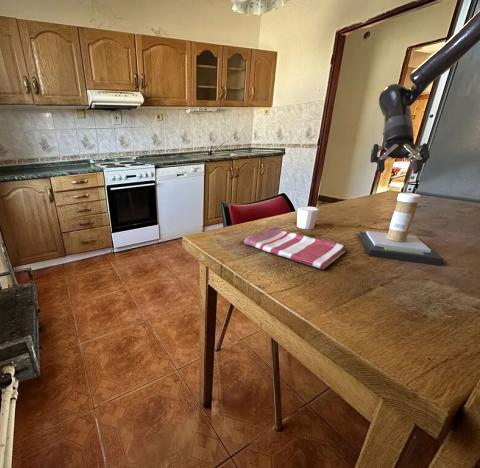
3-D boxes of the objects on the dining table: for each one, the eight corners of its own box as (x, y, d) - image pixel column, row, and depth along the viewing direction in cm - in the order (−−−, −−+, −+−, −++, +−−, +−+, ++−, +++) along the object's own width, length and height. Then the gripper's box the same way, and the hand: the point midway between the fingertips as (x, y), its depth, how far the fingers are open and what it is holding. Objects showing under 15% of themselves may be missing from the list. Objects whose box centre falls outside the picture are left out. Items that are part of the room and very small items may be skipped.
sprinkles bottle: (409, 240, 74) (424, 194, 69) (400, 243, 72) (415, 196, 67) (391, 235, 78) (404, 191, 73) (382, 238, 76) (395, 193, 71)
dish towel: (270, 232, 91) (271, 224, 90) (345, 252, 74) (348, 243, 73) (242, 245, 81) (243, 237, 80) (322, 272, 64) (324, 262, 63)
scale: (418, 244, 78) (421, 235, 77) (440, 265, 65) (444, 256, 64) (358, 237, 84) (360, 229, 83) (368, 256, 72) (371, 246, 71)
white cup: (320, 228, 93) (324, 209, 90) (304, 230, 91) (308, 211, 89) (305, 222, 99) (308, 205, 97) (291, 224, 97) (293, 207, 95)
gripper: (375, 125, 86) (375, 163, 81) (431, 122, 80) (435, 164, 75) (368, 141, 92) (367, 178, 87) (419, 140, 87) (422, 179, 81)
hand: (399, 171), depth 81 cm, fingers open, 8 cm apart
